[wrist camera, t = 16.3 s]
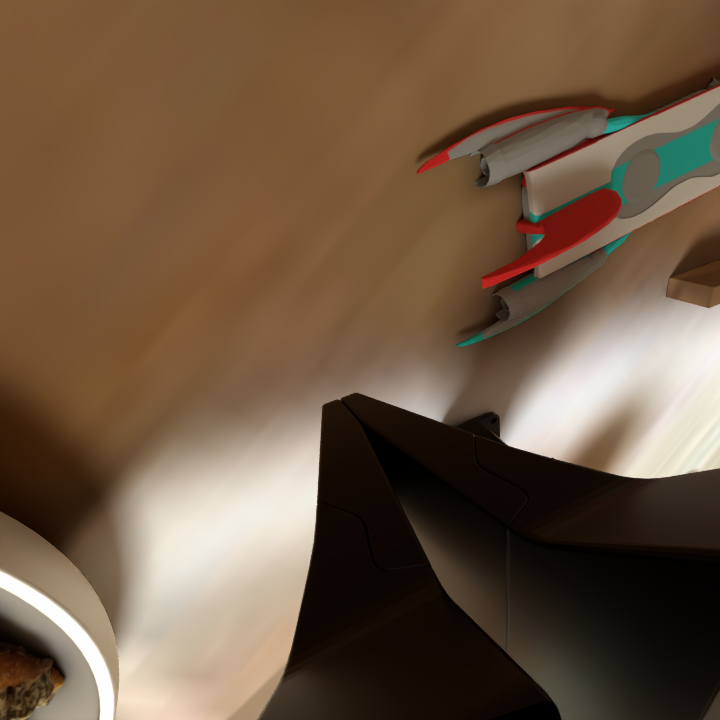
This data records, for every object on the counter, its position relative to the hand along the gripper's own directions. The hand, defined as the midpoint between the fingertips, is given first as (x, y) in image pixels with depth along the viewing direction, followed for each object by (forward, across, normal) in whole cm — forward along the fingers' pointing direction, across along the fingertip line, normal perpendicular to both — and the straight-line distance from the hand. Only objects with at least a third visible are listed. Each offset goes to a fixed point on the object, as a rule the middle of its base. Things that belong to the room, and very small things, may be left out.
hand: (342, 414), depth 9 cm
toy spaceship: (+13, -23, -1) cm, 26 cm away
